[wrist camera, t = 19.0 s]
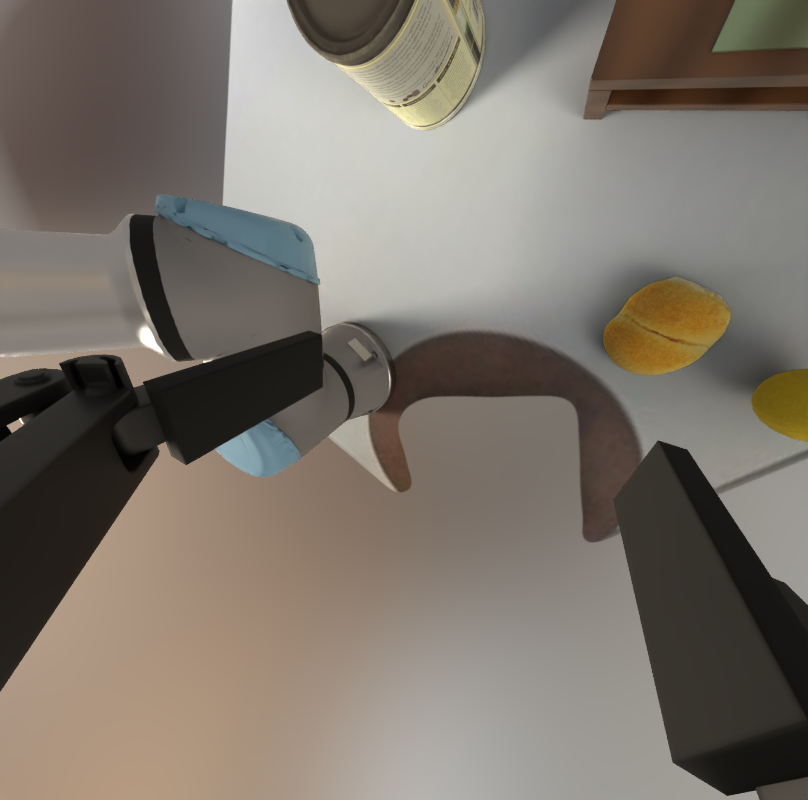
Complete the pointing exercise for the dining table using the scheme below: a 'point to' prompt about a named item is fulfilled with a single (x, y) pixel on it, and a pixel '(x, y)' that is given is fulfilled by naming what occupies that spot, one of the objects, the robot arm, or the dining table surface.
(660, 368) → the bread roll
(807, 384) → the lemon
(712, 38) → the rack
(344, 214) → the dining table surface
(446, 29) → the coffee can
